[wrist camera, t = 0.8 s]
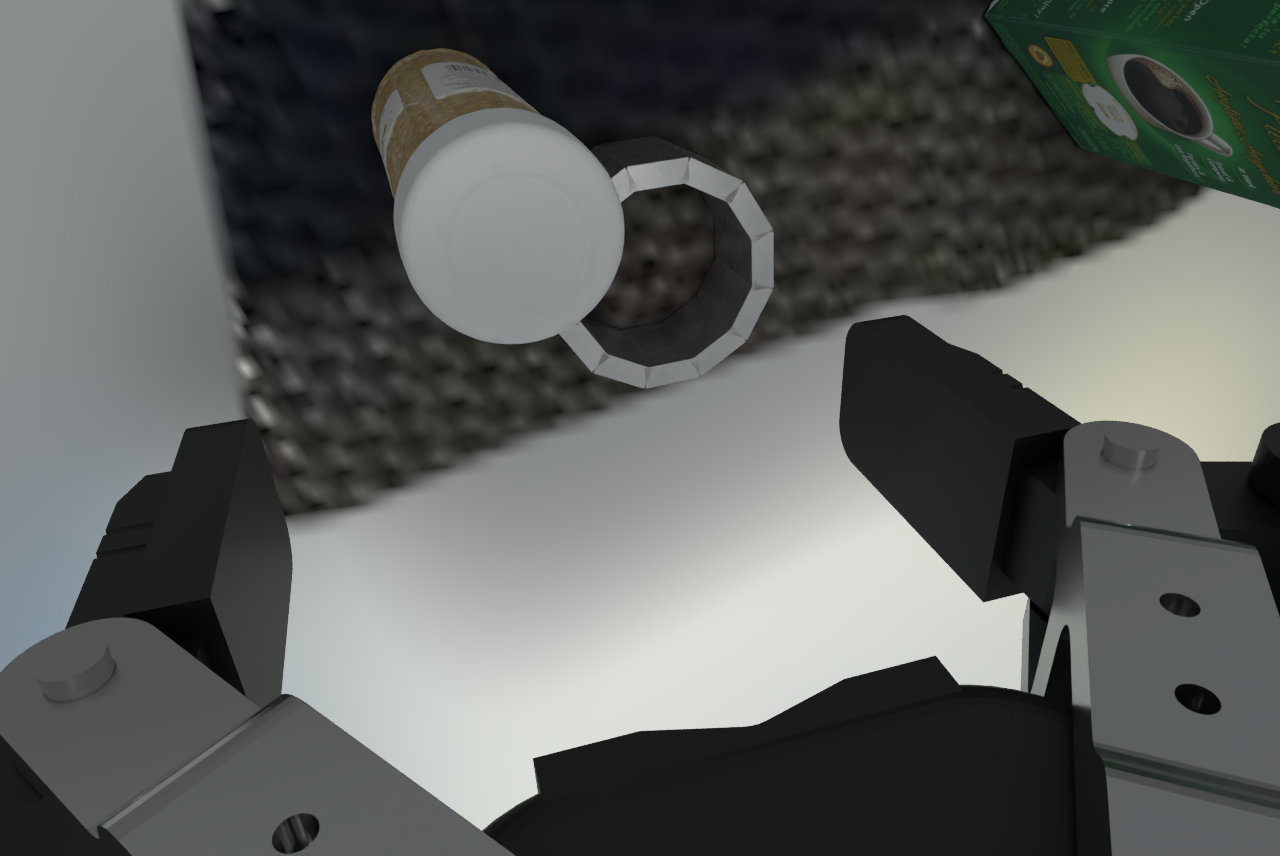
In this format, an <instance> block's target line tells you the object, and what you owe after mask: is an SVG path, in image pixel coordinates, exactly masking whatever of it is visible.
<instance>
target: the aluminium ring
mask: <svg viewBox="0 0 1280 856" xmlns="http://www.w3.org/2000/svg"><path fill="white" fill-rule="evenodd" d="M590 151H591V153H592V154H593V155H594V156H595V157H596V158H597V159H598V160H599V162H600V163H601V164H602V166H603V167H604V168H605V169H606V171H607V172H608V174H609V176H610V178H611V179H612V181H613V184H614V186H615V188H616V190H617V193H618V195H619V198H620V202H622V201H623V200H625V199H626V198H627V197H628V196H630V195H631V194H632V193H633V192H635V191H641V190H647V189H653V188H659V187H665V186H671V185H678V184H684V183H685V184H687V185H689V186H692V187H694V188H696V189H699V190H700V192H701V193H702V195H703V196H704V198H705V199H706V201H707V203H708V204H709V206H710V207H711V209H712V210H713V212H714V223H715V250H716V256H715V258H714V260H713V262H712V265H711V267H710V269H709V271H708V273H707V275H706V277H705V279H704V281H703V283H702V285H701V287H700V290H699V292H698V294H697V295H696V296H695V297H694V298H693V299H691V300H690V301H689V302H687V303H686V304H685V305H684V306H682V307H681V308H680V309H679V310H677V311H676V312H675V313H674V314H672V315H671V316H670V317H668V318H667V319H666V320H665V321H663V322H660V323H655V324H650V325H645V326H640V327H635V328H629V329H624V330H620V329H617V328H614V327H611V326H608V325H605V324H602V323H599V322H596V321H593V320H590V319H587V318H583V319H581V320H580V321H579V322H578V323H576V324H575V325H573V326H572V327H570V328H568V329H567V330H565V331H563V332H561V333H559V334H560V335H561V337H562V338H563V339H564V340H565V341H566V342H567V344H568V345H569V346H570V347H571V348H572V349H573V351H574V352H575V353H576V354H577V355H578V357H579V358H580V359H581V360H582V361H583V362H584V364H585V365H586V366H587V367H588V368H589V369H590V371H591V372H592V371H593V373H595V374H598V375H601V376H605V377H608V378H611V379H614V380H618V381H621V382H624V383H627V384H631V385H634V386H637V387H640V388H644V387H645V388H646V389H647V388H651V387H656V386H661V385H666V384H670V383H675V382H680V381H684V380H689V379H694V378H698V377H699V374H700V375H701V376H702V375H704V374H705V373H706V372H708V371H709V370H710V369H711V368H713V367H714V366H715V365H716V364H718V363H719V362H720V361H722V360H723V359H724V358H725V357H727V356H728V355H729V354H731V353H732V352H733V351H734V350H736V349H737V348H738V347H740V346H741V345H742V344H743V343H745V340H744V339H746V340H747V339H748V337H749V335H750V333H751V331H752V330H753V328H754V326H755V324H756V322H757V320H758V318H759V316H760V314H761V312H762V310H763V308H764V306H765V304H766V302H767V300H768V298H769V296H770V294H771V292H772V290H773V289H772V288H771V287H774V279H773V231H772V227H771V225H770V224H769V222H768V220H767V219H766V217H765V216H764V214H763V212H762V211H761V209H760V207H759V206H758V204H757V202H756V201H755V199H754V198H753V196H752V194H751V193H750V191H749V189H748V188H747V186H746V184H745V183H744V182H743V181H742V180H740V179H739V178H737V177H735V176H734V175H732V174H730V173H729V172H727V171H725V170H724V169H722V168H721V167H719V166H717V165H716V164H714V163H712V162H711V161H709V160H707V159H706V158H704V157H702V156H699V155H697V154H695V153H693V152H691V151H688V150H686V149H684V148H682V147H680V146H677V145H675V144H673V143H671V142H669V141H666V140H664V139H662V138H660V137H658V136H657V137H656V136H649V137H643V138H636V139H629V140H623V141H616V142H609V143H602V144H599V147H598V146H597V145H596V146H595V147H594V148H592V149H591V150H590Z"/></svg>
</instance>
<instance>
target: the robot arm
mask: <svg viewBox="0 0 1280 856" xmlns="http://www.w3.org/2000/svg"><path fill="white" fill-rule="evenodd" d="M839 426H840V435H841V440H842V444H843V447H844V449H845V452H846V454H847V456H848V458H849V459H850V461H851V462H852V463H853V464H854V466H855V467H856V468H857V469H858V470H859V471H860V472H861V473H862V474H863V475H864V476H865V477H866V478H867V479H868V480H869V481H870V482H871V484H872V485H873V486H874V487H875V488H876V489H878V491H879V492H880V493H881V494H882V495H883V496H884V497H885V498H886V499H887V500H888V501H889V503H890V504H891V505H892V506H893V507H894V508H895V509H896V510H897V511H898V512H899V513H900V514H901V515H902V516H903V517H904V518H905V519H906V521H907V522H908V523H909V524H910V525H911V526H912V527H913V528H914V529H915V530H916V531H917V532H918V533H919V534H920V535H921V537H922V538H923V539H924V540H925V541H926V542H927V543H928V544H929V545H930V546H931V547H932V548H933V549H934V550H935V551H936V552H937V553H938V554H939V556H940V557H941V558H942V559H943V560H944V561H945V562H946V563H947V564H948V565H949V566H950V567H951V568H952V569H953V570H954V571H955V572H956V574H957V575H958V576H959V577H960V578H961V579H962V580H963V581H964V582H965V583H966V584H967V585H968V586H969V587H970V588H971V589H972V590H973V592H975V594H976V595H977V596H978V597H979V598H980V599H981V600H982V601H983V602H986V601H990V600H995V599H998V598H1003V597H1007V596H1011V595H1015V594H1019V593H1023V592H1024V593H1025V594H1026V595H1027V596H1028V601H1027V606H1026V610H1025V614H1024V620H1023V639H1022V640H1023V641H1022V671H1021V691H1019V690H1013V689H1007V688H1000V687H994V686H980V685H958V683H957V682H956V681H955V679H954V678H953V677H952V676H951V674H950V673H949V672H948V671H947V669H946V668H945V667H944V666H943V664H942V663H941V662H940V661H939V659H938V658H937V657H936V656H933V657H929V658H926V659H921V660H917V661H914V662H910V663H906V664H902V665H898V666H894V667H890V668H886V669H882V670H878V671H874V672H870V673H867V674H863V675H859V676H855V677H851V678H847V679H844V680H842V681H840V682H838V683H836V684H834V685H833V686H831V687H829V688H827V689H825V690H823V691H821V692H819V693H817V694H816V695H814V696H812V697H810V698H808V699H806V700H805V701H803V702H801V703H799V704H797V705H795V706H793V707H791V708H789V709H788V710H786V711H784V712H782V713H780V714H778V715H776V716H775V717H773V718H771V719H769V720H767V721H765V722H763V723H760V724H758V725H754V726H748V727H730V728H707V729H683V730H658V731H639V732H635V733H631V734H628V735H623V736H619V737H616V738H611V739H608V740H604V741H600V742H596V743H592V744H588V745H584V746H580V747H576V748H572V749H568V750H564V751H561V752H556V753H553V754H549V755H545V756H541V757H537V758H534V759H533V761H534V768H535V774H536V781H537V788H538V794H537V795H535V796H533V797H531V798H529V799H527V800H525V801H523V802H522V803H520V804H518V805H517V806H515V807H514V808H512V809H511V810H509V811H508V812H506V813H505V814H503V815H502V816H500V817H499V818H497V819H496V820H494V821H493V822H492V823H491V824H490V825H488V826H487V827H486V828H485V829H484V830H483V831H481V830H480V829H478V828H477V827H475V826H474V825H473V824H471V823H470V822H469V821H467V820H466V819H464V818H463V817H462V816H460V815H459V814H458V813H456V812H455V811H454V810H452V809H450V808H449V807H448V806H447V805H445V804H444V803H443V802H441V801H440V800H438V799H437V798H436V797H434V796H433V795H432V794H430V793H429V792H427V791H426V790H425V789H423V788H422V787H421V786H419V785H418V784H416V783H415V782H414V781H412V780H411V779H410V778H408V777H407V776H406V775H404V774H403V773H401V772H400V771H399V770H397V769H396V768H395V767H393V766H392V765H390V764H389V763H388V762H386V761H385V760H383V759H382V758H381V757H379V756H378V755H377V754H375V753H374V752H372V751H371V750H370V749H368V748H367V747H366V746H364V745H363V744H362V743H360V742H359V741H357V740H356V739H355V738H353V737H352V736H350V735H349V734H348V733H347V732H345V731H344V730H342V729H341V728H340V727H338V726H337V725H335V724H334V723H333V722H331V721H330V720H329V719H327V718H326V717H325V716H323V715H322V714H320V713H319V712H317V711H316V710H315V709H313V708H312V707H311V706H309V705H308V704H307V703H305V702H304V701H302V700H301V699H299V698H297V697H295V696H293V695H289V694H282V695H281V690H282V679H283V668H284V657H285V645H286V635H287V624H288V614H289V602H290V592H291V581H292V552H291V545H290V538H289V533H288V528H287V524H286V521H285V517H284V514H283V510H282V507H281V504H280V500H279V497H278V493H277V490H276V487H275V483H274V480H273V476H272V473H271V470H270V466H269V463H268V459H267V456H266V453H265V449H264V446H263V442H262V439H261V436H260V433H259V430H258V428H257V426H256V424H255V422H254V421H253V419H251V418H250V419H243V420H237V421H231V422H225V423H218V424H213V425H206V426H200V427H193V428H188V429H186V430H185V432H184V435H183V438H182V441H181V444H180V447H179V450H178V453H177V456H176V459H175V462H174V465H173V468H172V471H170V472H164V473H158V474H152V475H146V476H145V477H144V478H143V479H142V480H141V481H139V482H138V483H137V484H136V485H135V486H134V487H133V488H132V489H131V490H130V491H129V492H128V493H127V494H126V495H124V496H123V497H122V498H121V499H120V500H119V501H118V502H117V504H116V506H115V509H114V511H113V514H112V516H111V518H110V521H109V523H108V526H107V528H106V535H105V536H103V538H102V540H101V543H100V545H99V548H98V550H97V552H96V554H97V559H94V560H93V562H92V565H91V567H90V570H89V572H88V574H87V577H86V579H85V582H84V584H83V587H82V589H81V591H80V594H79V596H78V599H77V601H76V604H75V606H74V609H73V611H72V613H71V616H70V618H69V621H68V623H67V626H66V628H65V630H63V631H60V632H58V633H55V634H54V635H51V636H49V637H48V638H45V639H43V640H42V641H40V642H38V643H37V644H35V645H33V646H32V647H30V648H28V649H27V650H26V651H24V652H23V653H22V654H20V655H19V656H17V657H16V658H15V659H14V660H13V661H12V662H10V663H9V664H8V665H7V666H6V667H5V668H4V669H3V670H2V672H1V673H0V856H1280V423H1276V424H1273V425H1271V426H1269V427H1268V428H1267V429H1265V431H1264V432H1263V434H1262V437H1261V439H1260V442H1259V445H1258V448H1257V451H1256V454H1255V456H1254V459H1253V462H1200V460H1199V458H1198V456H1197V454H1196V453H1195V452H1194V450H1193V449H1192V448H1190V447H1189V446H1188V445H1187V444H1186V443H1184V442H1183V441H1181V440H1180V439H1178V438H1176V437H1174V436H1172V435H1170V434H1168V433H1165V432H1163V431H1160V430H1158V429H1154V428H1151V427H1148V426H1143V425H1140V424H1135V423H1128V422H1120V421H1094V422H1089V423H1084V424H1081V423H1080V422H1078V421H1077V420H1075V419H1074V418H1072V417H1071V416H1069V415H1068V414H1066V413H1065V412H1063V411H1062V410H1060V409H1059V408H1057V407H1056V406H1055V405H1053V404H1051V403H1050V402H1048V401H1047V400H1046V399H1044V398H1043V397H1041V396H1040V395H1038V394H1037V393H1035V392H1034V391H1032V390H1031V389H1029V388H1023V386H1022V383H1020V382H1019V381H1017V380H1016V379H1014V378H1013V377H1011V376H1010V375H1008V374H1003V372H1002V370H1001V369H999V368H998V367H996V366H995V365H994V364H992V363H991V362H989V361H988V360H986V359H984V358H983V357H981V356H980V355H979V354H976V353H974V352H971V351H968V350H965V349H962V348H960V347H957V346H954V345H951V344H948V343H947V342H945V341H944V340H943V339H941V338H940V337H938V336H937V335H935V334H934V333H932V332H931V331H930V330H928V329H927V328H925V327H924V326H922V325H921V324H919V323H918V322H917V321H915V320H914V319H912V318H911V317H909V316H906V315H901V316H895V317H888V318H882V319H876V320H870V321H863V322H857V323H855V324H853V325H852V326H851V327H850V329H849V331H848V334H847V337H846V344H845V356H844V368H843V381H842V394H841V406H840V420H839Z"/></svg>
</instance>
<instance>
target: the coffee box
mask: <svg viewBox="0 0 1280 856" xmlns="http://www.w3.org/2000/svg"><path fill="white" fill-rule="evenodd" d="M985 18H986V19H987V20H988V22H989V23H990V24H991V26H992V27H993V28H994V30H995V31H996V33H997V34H998V36H999V37H1000V38H1001V41H1002V42H1003V44H1004V46H1005V47H1006V49H1007V50H1008V51H1009V52H1010V54H1011V55H1012V56H1013V57H1014V58H1015V59H1016V60H1017V61H1018V62H1019V64H1020V66H1021V67H1022V68H1023V69H1024V70H1025V72H1026V73H1027V75H1028V76H1029V78H1030V79H1031V81H1032V82H1033V83H1034V85H1035V86H1036V88H1037V89H1038V90H1039V92H1040V94H1041V95H1042V96H1043V97H1044V99H1045V100H1046V102H1047V103H1048V105H1049V106H1050V107H1051V108H1052V110H1053V111H1054V113H1055V115H1056V116H1057V118H1058V119H1059V120H1060V122H1061V123H1062V124H1063V126H1064V127H1065V128H1066V129H1067V131H1068V132H1069V134H1070V135H1071V136H1072V138H1073V139H1074V141H1075V142H1076V143H1077V145H1078V146H1079V148H1080V149H1083V150H1087V151H1090V152H1093V153H1096V154H1098V155H1101V156H1105V157H1108V158H1110V159H1115V160H1118V161H1121V162H1124V163H1128V164H1131V165H1135V166H1138V167H1141V168H1144V169H1147V170H1151V171H1154V172H1158V173H1161V174H1164V175H1168V176H1171V177H1175V178H1178V179H1182V180H1185V181H1188V182H1192V183H1195V184H1198V185H1202V186H1205V187H1209V188H1212V189H1216V190H1219V191H1222V192H1225V193H1229V194H1233V195H1236V196H1240V197H1243V198H1246V199H1250V200H1253V201H1256V202H1260V203H1263V204H1267V205H1270V206H1273V207H1276V208H1279V209H1280V0H994V1H993V2H992V3H991V4H990V7H989V9H988V11H987V13H986V15H985Z"/></svg>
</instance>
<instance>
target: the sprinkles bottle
mask: <svg viewBox="0 0 1280 856" xmlns="http://www.w3.org/2000/svg"><path fill="white" fill-rule="evenodd" d="M371 118H372V126H373V134H374V137H375V141H376V144H377V146H378V149H379V152H380V154H381V156H382V160H383V163H384V166H385V170H386V173H387V176H388V179H389V183H390V187H391V190H392V194H393V197H394V200H395V202H394V228H395V234H396V239H397V244H398V248H399V252H400V256H401V259H402V262H403V265H404V267H405V270H406V272H407V275H408V277H409V280H410V282H411V284H412V286H413V288H414V290H415V291H416V293H417V294H418V296H419V297H420V299H421V300H422V302H423V303H424V304H425V305H426V306H427V308H428V309H429V310H430V311H431V312H432V313H433V314H434V315H436V316H437V317H438V318H439V319H440V320H442V321H443V322H444V323H446V324H447V325H448V326H450V327H452V328H453V329H455V330H457V331H458V332H461V333H463V334H465V335H467V336H470V337H472V338H475V339H479V340H482V341H486V342H491V343H497V344H522V343H530V342H535V341H540V340H543V339H546V338H549V337H552V336H554V335H556V334H559V333H561V332H563V331H565V330H567V329H568V328H570V327H572V326H573V325H575V324H576V323H578V322H579V321H580V320H581V319H583V318H584V317H585V316H586V315H587V314H588V313H589V312H591V311H592V310H593V309H594V307H595V306H596V305H597V304H598V303H599V302H600V300H601V299H602V298H603V296H604V295H605V294H606V292H607V291H608V289H609V287H610V285H611V283H612V282H613V279H614V277H615V275H616V272H617V270H618V267H619V264H620V261H621V258H622V253H623V245H624V217H623V210H622V206H621V202H620V198H619V195H618V193H617V190H616V188H615V186H614V184H613V181H612V179H611V178H610V176H609V174H608V172H607V171H606V169H605V168H604V167H603V166H602V164H601V163H600V162H599V160H598V159H597V158H596V157H595V156H594V155H593V154H592V153H591V151H590V150H589V149H588V148H587V147H586V146H585V145H584V144H583V143H582V142H581V141H579V140H578V139H577V138H576V137H575V136H574V135H572V134H571V133H570V132H569V131H568V130H566V129H565V128H564V127H562V126H561V125H559V124H557V123H556V122H554V121H553V120H551V119H548V118H546V117H544V116H542V115H540V113H538V112H537V111H536V110H535V109H534V108H533V107H531V106H530V105H529V104H528V103H527V102H525V101H524V100H523V99H522V98H521V97H520V96H518V95H517V94H516V93H515V92H514V91H513V90H512V89H510V88H509V87H508V86H507V85H506V84H505V83H503V82H502V81H501V80H500V79H499V78H498V77H497V76H496V75H495V74H494V73H493V72H492V71H491V70H490V69H489V68H488V67H487V66H486V65H485V64H483V63H481V62H480V61H479V60H478V59H476V58H475V57H473V56H471V55H468V54H466V53H464V52H459V51H455V50H451V49H446V48H438V49H430V50H420V51H418V52H416V53H414V54H411V55H409V56H406V57H405V58H403V59H401V60H399V61H398V62H396V63H395V64H394V65H393V66H392V67H391V68H390V70H389V71H388V72H387V74H386V75H385V76H384V78H383V79H382V81H381V82H380V84H379V87H378V91H377V92H376V95H375V98H374V102H373V105H372V113H371Z"/></svg>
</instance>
